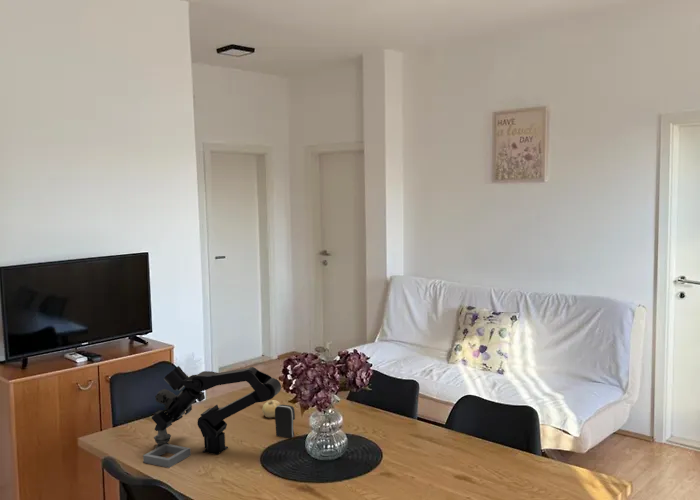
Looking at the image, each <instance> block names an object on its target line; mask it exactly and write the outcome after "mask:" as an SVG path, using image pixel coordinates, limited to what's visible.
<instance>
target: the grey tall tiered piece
mask: <svg viewBox="0 0 700 500" xmlns="http://www.w3.org/2000/svg"><path fill="white" fill-rule="evenodd" d="M171 438H172V435H171V434H170V433H168V431H167V428H166V429H165V430H162V429H161V430H159V431H157V434H156V435H154V437H153V439H154V441H155V443H156V444H157V445H155V448H154V449H156V448H158V447H160V446H162V445H164V444H170V441H171Z"/></svg>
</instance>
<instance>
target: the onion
mask: <svg viewBox="0 0 700 500" xmlns="http://www.w3.org/2000/svg"><path fill="white" fill-rule="evenodd" d="M279 405H282V404H281V403H280V402H279V401H278V400H276V399H270V400H267V401H265V403H263V406H262V410H261V411H262V414H263V416H265V418H275V408H276V407H277V406H279Z"/></svg>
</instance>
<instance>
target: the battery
mask: <svg viewBox="0 0 700 500" xmlns="http://www.w3.org/2000/svg"><path fill="white" fill-rule="evenodd" d="M274 420H275V421H274V423H275V435H276V437H282V438H288V439H289V438H290V439H291V438H294V436H295V432H294V421H295V420H296V413H295V408H294V406H292V405H290V404H289V405H287V404H281V405H279V406H277V407H276V408H275V417H274Z"/></svg>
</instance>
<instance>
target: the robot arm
mask: <svg viewBox="0 0 700 500" xmlns="http://www.w3.org/2000/svg"><path fill="white" fill-rule="evenodd" d="M163 380H164V381H165V382H166V383H167V385H169V386H170V388H171V389H172V390H173V391H175V392H177V391H178V392H179V394H177V395H176V394H175V393H174V392H172V391H170V390H169V389H167V388H162V389H161V390H159V391H158V392H157V394H156V395H154V398H155V402H157V403H158V404H160V405H164V409H165V410H166V411H165V410H161V409H160V410H158V411H156V412H155V413H154V414H153V415H151V420H152V421H153V422H154V423H155V428H154V431H156V432H158V431H159V430H161V429H162V430H165V429H166V430H167V428H170V427H171V426H172V425H173V423H174V422H178V421H179V420H182V419H183V417H184V416H187V415H188V414H189V413H190V412H191V411H193V407H192V406H193V405H192V404H194V403H195V401H198V402H199V403H200V402H202V401H203V400H205V395H206V394H205V392H204V391H207V390H210V389H212V388H215V387H217V386H222V385H229V384H230V385H231V384H236V383H243V382H246V383H248V384H249V386H250V387H251V388H252V389H253V391H251V392H250V393H248V394H246V395H242V396H241V397H239V398H238V399H236V400H234V401H232V402H230V403H228V404H226V405H224V406H221V407H219V406H218V404H216V405H214V406H212V407H209V408H207V409H206V410H205V411H204V412H202V413H201V414H200V417H198V418H197V421H196V422H197V427H198V429H199V430H200V433H201V436H202V437H203V439H204V440H203V441H204V443H203V444H204V449H203V450H202V453H206V454H211V455H217V456H218V455H220V454H221V453H222V452H225V450H227V449H229V446H226V437H225V436H226V435H225V432H224V431H225V430H227V426H228V424H227V422H226V421H225V419H228V418H229V417H231V416H233V415H235V414H237V413H239V412H241V411H243V410H244V409H246V408H249V407H250V406H253V405H254V404H257V403H263V402H267V401H268V400H273V398H274V397H276V396H277V395H278V394H279V393H280V391H281V389H282V385H281V382H280V380H278V379H277V378H274V377H272V376H271V375H269V374H267V373H265V372H262V371H260V370H259V369H258V368H256V367H253V366H250V367H248V368H242V369H234V370H229V371H228V370H227V371H222V372H217V371H216V372H215V371H213V370H212V371H209V370H207V371H206V370H205V371H201V372H199V373H197V374H192V375H190V376H188V374H186V372H184V371H183V370H182V368H181V367H180V366H176V367H175V368H174V369H173V370H171V371H170V372H169V373H167V374H166V375H165V377H163Z"/></svg>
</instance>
